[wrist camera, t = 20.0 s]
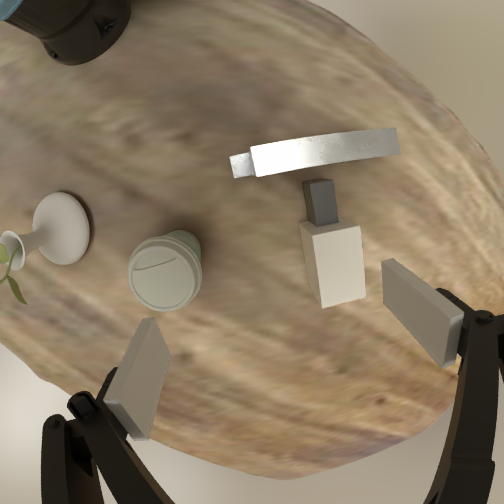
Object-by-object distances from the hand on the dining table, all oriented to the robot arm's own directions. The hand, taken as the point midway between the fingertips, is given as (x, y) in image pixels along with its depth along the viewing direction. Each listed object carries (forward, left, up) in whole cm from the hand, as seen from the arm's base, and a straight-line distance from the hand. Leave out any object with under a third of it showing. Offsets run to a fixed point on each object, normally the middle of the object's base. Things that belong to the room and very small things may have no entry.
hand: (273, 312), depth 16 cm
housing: (-8, +9, -26) cm, 29 cm away
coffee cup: (+1, -11, -26) cm, 28 cm away
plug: (+4, +9, -26) cm, 28 cm away
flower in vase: (-6, -29, -26) cm, 39 cm away
